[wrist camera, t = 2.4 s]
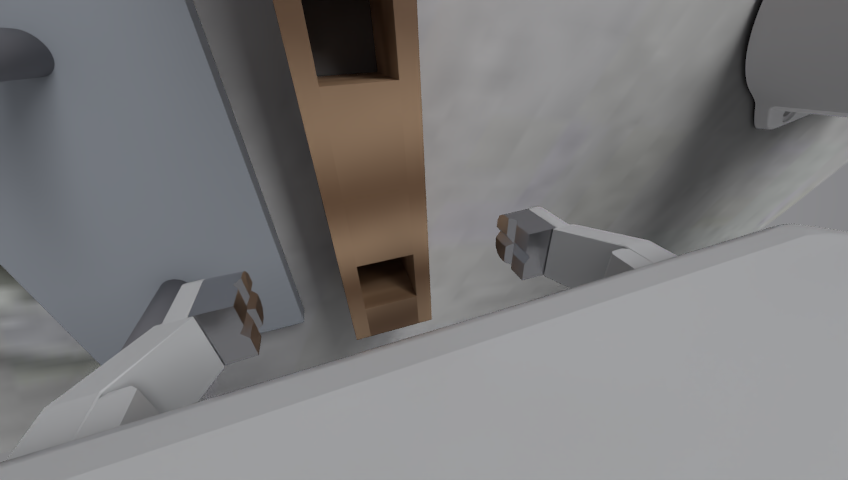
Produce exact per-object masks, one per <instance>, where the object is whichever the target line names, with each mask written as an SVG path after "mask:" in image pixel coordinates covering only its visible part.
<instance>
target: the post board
mask: <svg viewBox="0 0 848 480" xmlns="http://www.w3.org/2000/svg"><path fill="white" fill-rule="evenodd" d="M0 264H1V265H2V266H3V267H4V268H5V269H6V270H7V271H8V272H9V273H10V274H11V275H12V276H13V278H14V279H15V280H16V281H17V282H18V283H19V284H20V285H21V286H22V287H23V288H24V289H25V290H26V291H27V292H28V293H29V294H30V295H31V296H32V297H33V298H34V299H35V300H36V301H37V302H38V303H39V304H40V305H41V306H42V307H43V308H44V309H45V310H46V311H47V312H48V313H49V314H50V315H51V316H52V317H53V318H54V319H55V320H56V321H57V322H58V323H59V324H60V325H61V326H62V327H63V328H64V329H65V330H66V331H67V332H68V333H69V334H70V335H71V336H72V337H73V338H74V339H75V340H76V341H77V342H78V343H79V344H80V345H81V346H82V347H83V348H84V349H85V350H86V351H87V352H88V353H89V354H90V355H91V356H92V357H93V358H94V359H95V360H96V361H97V362H98V363H99V364H100V365H103V364H104V363H105V362H107V361H108V360H109V359H111V358H112V357H113V356H115V355H116V354H117V353H119V352H120V351H121V350H123V349H124V348H126V347H127V346H128V345H130V344H131V343H132V342H134V341H135V340H136V339H138V338H139V337H140V336H142V335H143V334H144V333H146V332H147V331H148V330H150V329H151V328H152V327H154V326H156V325H160V324H162V322H163V320H164V319H165V317H166V315H167V313H168V311H169V309H170V307H171V305H172V303H173V301H174V299H175V297H176V295H177V293H178V291H179V290H180V288H181V286H182V285H183V284H185V283H188V282H192V281H197V280H201V279H207V278H212V277H217V276H222V275H227V274H232V273H237V272H242V271H246V272H247V273H248V274H249V276H250V278H251V280H252V282H253V283H252V288H251V291H253V292H255V293H257V294H258V296H259V298H260V300H261V303H262V307H263V315H264V320H263V325H262V326H261V328H260V329H259V330H258V331H259V333H263V332H267V331H271V330H275V329H279V328H283V327H287V326H291V325H295V324H299V323H303V322H304V308H303V306H302V303H301V300H300V297H299V295H298V292H297V289H296V286H295V283H294V281H293V278H292V275H291V272H290V270H289V267H288V264H287V261H286V258H285V256H284V253H283V250H282V247H281V245H280V242H279V239H278V236H277V233H276V231H275V228H274V225H273V222H272V220H271V217H270V214H269V211H268V208H267V206H266V203H265V200H264V197H263V195H262V192H261V189H260V186H259V183H258V181H257V178H256V175H255V172H254V170H253V167H252V164H251V161H250V158H249V156H248V153H247V150H246V147H245V145H244V142H243V139H242V136H241V133H240V131H239V128H238V125H237V122H236V120H235V117H234V114H233V111H232V108H231V106H230V103H229V100H228V97H227V95H226V92H225V89H224V86H223V83H222V81H221V78H220V75H219V72H218V70H217V67H216V64H215V61H214V58H213V56H212V53H211V50H210V47H209V45H208V42H207V39H206V36H205V33H204V31H203V28H202V25H201V22H200V20H199V17H198V14H197V11H196V8H195V6H194V3H193V0H0Z"/></svg>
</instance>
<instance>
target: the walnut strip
mask: <svg viewBox="0 0 848 480" xmlns="http://www.w3.org/2000/svg"><path fill="white" fill-rule="evenodd" d="M369 2H370V10H371V19H372V28H373V37H374V46H375V55H376V63H377V72H370V73H357V74H344V75H331V76H318V77H317V75H316V70H315V65H314V60H313V55H312V51H311V46H310V41H309V36H308V31H307V27H306V22H305V17H304V12H303V7H302V3H301V0H273V4H274V8H275V12H276V16H277V20H278V24H279V28H280V32H281V36H282V40H283V44H284V48H285V52H286V56H287V60H288V64H289V68H290V72H291V76H292V80H293V84H294V88H295V92H296V96H297V100H298V104H299V109H300V113H301V117H302V121H303V125H304V129H305V133H306V137H307V141H308V145H309V149H310V153H311V157H312V161H313V165H314V169H315V173H316V177H317V181H318V185H319V189H320V193H321V197H322V201H323V205H324V209H325V213H326V217H327V221H328V225H329V229H330V233H331V238H332V242H333V246H334V250H335V254H336V258H337V262H338V266H339V270H340V274H341V278H342V282H343V286H344V290H345V294H346V298H347V302H348V306H349V310H350V314H351V318H352V322H353V326H354V330H355V334H356V338H357V340H359V339H362V338H366V337H369V336H373V335H377V334H380V333H384V332H388V331H391V330H395V329H399V328H402V327H406V326H409V325H413V324H417V323H420V322H424V321H428V320H431V319H432V317H431V295H430V274H429V253H428V231H427V210H426V189H425V167H424V146H423V125H422V103H421V82H420V61H419V39H418V18H417V0H369Z"/></svg>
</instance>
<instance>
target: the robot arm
mask: <svg viewBox="0 0 848 480" xmlns="http://www.w3.org/2000/svg"><path fill="white" fill-rule="evenodd" d="M745 72H746V81H747V85H748V88H749V90H750V92H751V94H752V96H753V98H754V100H755V104H756V105H755V115H754V124H755V127H756V128H758V129H769V130H771V129H775V128H778V127H780V126H782V125H785V124H787V123H790V122H792V121H795V120H797V119H800V118H802V117H805V116H807V115H810V114H818V115H828V116H838V117H848V0H763V2H762V4H761V6H760V9H759V12H758V14H757V17H756V20H755V23H754V26H753V29H752V32H751V36H750V40H749V44H748V49H747V55H746V67H745ZM497 227H498V229H499V230H500V232H499V234H498V235H497V237H496V249H497V253H498V255H499V256H500V258H501V259H502V260H503V261H504V262H506V263H509V264H511V269H512V270H513V271H514V272H515V273H516V274H517V275H518V276H519V277H520V279H521V280H525V279H529V278H533V277H537V276H541V275H544V276H545V277H548V278H550V279H552V280H554V281H556V282H559V283H561V284H563V285H565V286H567V287H569V288H571V289H567V290H564V291H561V292H557V293H554V294H551V295H548V296H544V297H541V298H538V299H535V300H531V301H528V302H525V303H521V304H518V305H515V306H512V307H508V308H505V309H502V310H498V311H495V312H492V313H489V314H485V315H482V316H479V317H476V318H472V319H469V320H466V321H462V322H459V323H456V324H453V325H449V326H446V327H443V328H440V329H436V330H433V331H430V332H426V333H423V334H420V335H417V336H413V337H410V338H407V339H403V340H400V341H397V342H394V343H390V344H387V345H384V346H381V347H377V348H374V349H371V350H367V351H364V352H361V353H358V354H354V355H351V356H348V357H344V358H341V359H338V360H335V361H331V362H328V363H325V364H321V365H318V366H315V367H312V368H308V369H305V370H302V371H298V372H295V373H292V374H289V375H285V376H282V377H279V378H276V379H272V380H269V381H266V382H262V383H259V384H256V385H253V386H249V387H246V388H243V389H239V390H236V391H233V392H230V393H226V394H223V395H220V396H216V397H213V398H210V399H207V400H203V401H200V402H199V400H200V399H201V398H202V396H203V395H204V394H205V392H206V391H207V390H208V388H209V387H210V386H211V384H212V383H213V382H214V381H215V379H216V378H217V377H218V375H219V374H220V373H221V371H222V370H223V369H224V367H225V366H224V365H227V364H231V363H234V362H237V361H240V360H244V359H247V358H250V357H253V356H257V355H259V349H260V342H261V335H260V333H259V331H258V330H259V329H260V328H261V326H262V325H263V320H264V315H263V307H262V303H261V300H260V298H259V296H258V294H257V293H255V292H253V291H251V288H252V283H253V282H252V280H251V278H250V276H249V274H248V273H247V272H246V271H242V272H237V273H232V274H227V275H222V276H217V277H212V278H207V279H201V280H197V281H192V282H188V283H185V284H183V285H182V286H181V288H180V290H179V291H178V293H177V295H176V297H175V299H174V301H173V303H172V305H171V307H170V309H169V311H168V313H167V315H166V317H165V319H164V320H163V322H162V324H160V325H156V326H154V327H152V328H151V329H150V330H148V331H147V332H146V333H144V334H143V335H142V336H140V337H139V338H138V339H136V340H135V341H134V342H132V343H131V344H130V345H128V346H127V347H126V348H124V349H123V350H121V351H120V352H119V353H117V354H116V355H115V356H113V357H112V358H111V359H109V360H108V361H107V362H105V363H104V364H103V365H101V366H100V367H99V368H97V369H96V370H95V371H93V372H92V373H91V374H89V375H88V376H87V377H85V378H84V379H83V380H81V381H80V382H79V383H77V384H76V385H75V386H73V387H72V388H71V389H69V390H68V391H67V392H65V393H64V394H62V395H61V396H60V397H58V398H57V399H56V400H54V401H53V402H52V403H50V404H49V405H48V406H46V407H45V408H44V409H43V410H42V411H41V413H40V414H39V416H38V417H37V418H36V420H35V421H34V422H33V424H32V425H31V427H30V428H29V429H28V431H27V432H26V434H25V435H24V436H23V438H22V439H21V440H20V442H19V443H18V445H17V446H16V447H15V449H14V450H13V451H12V453H11V454H10V456H9V457H8V458H7V460H6V461H3V462H0V480H848V232H844V231H839V230H833V229H826V228H820V227H812V226H806V225H797V224H782V225H777V226H774V227H770V228H767V229H763V230H760V231H757V232H754V233H750V234H747V235H744V236H741V237H737V238H734V239H731V240H728V241H724V242H721V243H718V244H715V245H711V246H708V247H705V248H702V249H698V250H695V251H692V252H689V253H685V254H682V255H679V256H677V255H675V254H673V253H671V252H670V251H668V250H666V249H664V248H662V247H660V246H658V245H657V244H655V243H653V242H651V241H649V240H645V239H641V238H636V237H631V236H627V235H622V234H618V233H613V232H608V231H604V230H599V229H594V228H590V227H585V226H580V225H576V224H572V225H569V224H568V223H566V222H565V221H563V220H561V219H560V218H558V217H557V216H555V215H553V214H552V213H550V212H549V211H547V210H546V209H544V208H542V207H539V206H536V207H532V208H528V209H525V210H521V211H516V212H512V213H508V214H504V215H500V216H499V218H498V222H497Z"/></svg>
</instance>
